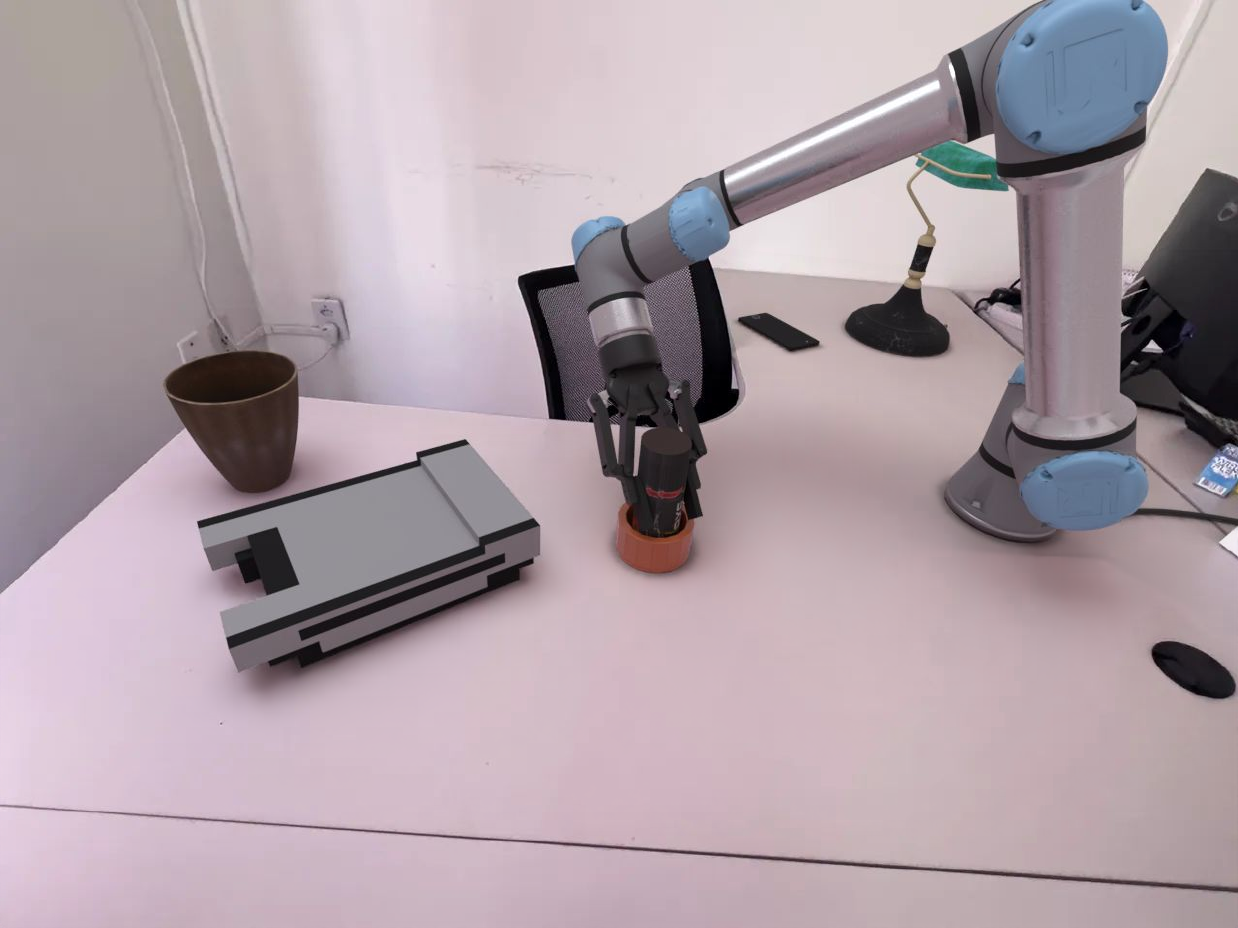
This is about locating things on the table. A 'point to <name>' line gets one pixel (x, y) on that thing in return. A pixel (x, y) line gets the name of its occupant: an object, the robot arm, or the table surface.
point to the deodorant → (663, 478)
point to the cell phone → (779, 331)
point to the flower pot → (240, 414)
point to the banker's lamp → (922, 263)
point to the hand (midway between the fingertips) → (671, 523)
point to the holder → (652, 544)
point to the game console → (368, 555)
